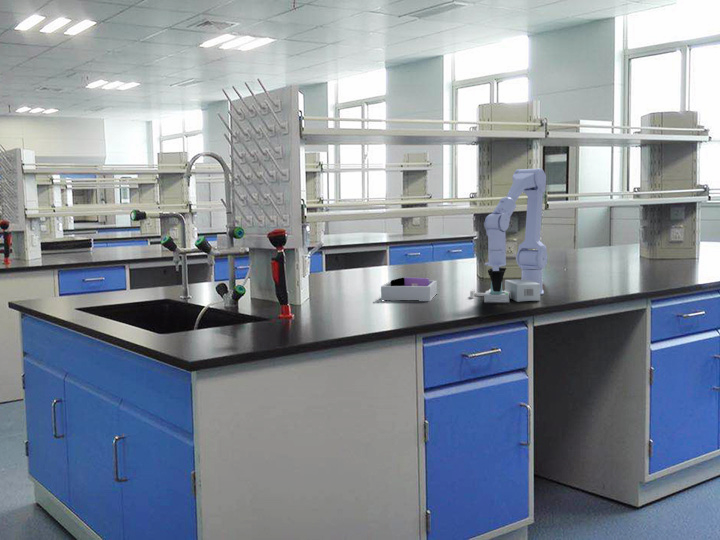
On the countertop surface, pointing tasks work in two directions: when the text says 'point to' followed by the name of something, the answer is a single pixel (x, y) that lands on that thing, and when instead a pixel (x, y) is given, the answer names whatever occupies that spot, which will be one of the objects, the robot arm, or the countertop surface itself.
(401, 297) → the holder corral
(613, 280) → the countertop surface
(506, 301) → the port
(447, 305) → the countertop surface
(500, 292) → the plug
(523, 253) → the robot arm
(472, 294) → the holster
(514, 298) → the skincare box
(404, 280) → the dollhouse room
